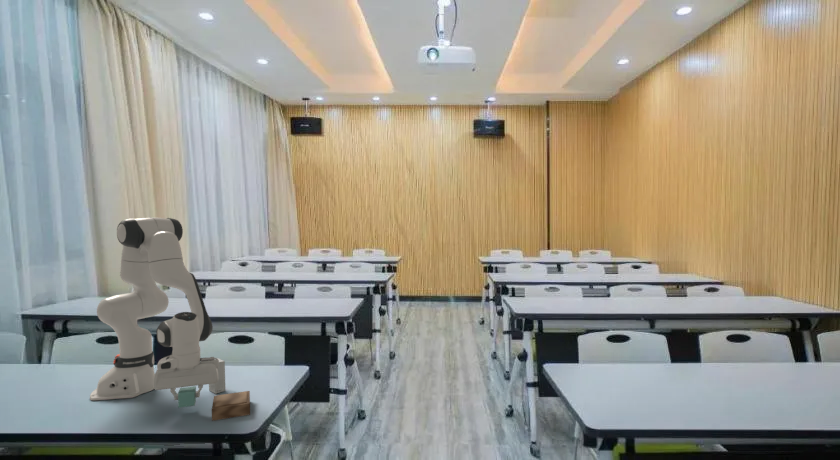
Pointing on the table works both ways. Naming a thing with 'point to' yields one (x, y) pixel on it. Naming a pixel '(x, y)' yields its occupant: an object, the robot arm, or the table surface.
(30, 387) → the table surface
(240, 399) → the tray
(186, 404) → the teal cube
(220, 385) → the skincare box
